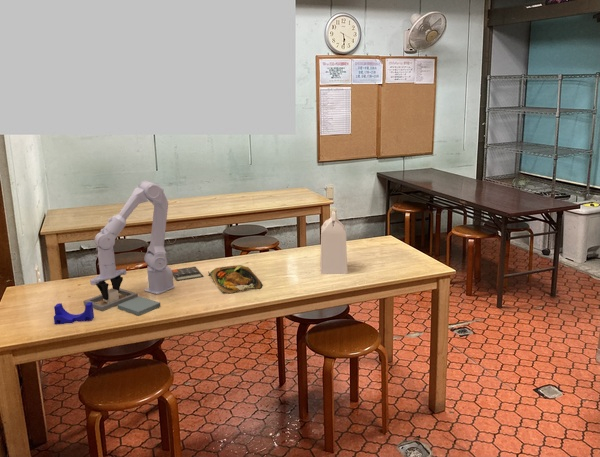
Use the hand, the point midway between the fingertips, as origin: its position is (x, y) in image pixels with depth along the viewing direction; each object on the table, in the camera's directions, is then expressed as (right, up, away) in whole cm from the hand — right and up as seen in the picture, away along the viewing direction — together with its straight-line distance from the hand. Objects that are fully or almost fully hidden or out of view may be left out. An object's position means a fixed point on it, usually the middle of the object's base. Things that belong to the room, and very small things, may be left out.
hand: (111, 297), depth 200 cm
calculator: (+23, +6, +30) cm, 38 cm away
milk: (+87, +8, +32) cm, 93 cm away
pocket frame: (0, -1, 0) cm, 2 cm away
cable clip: (-7, -6, -17) cm, 19 cm away
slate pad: (+13, -3, -6) cm, 15 cm away
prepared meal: (+45, +4, +20) cm, 50 cm away
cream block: (0, -1, 0) cm, 1 cm away
